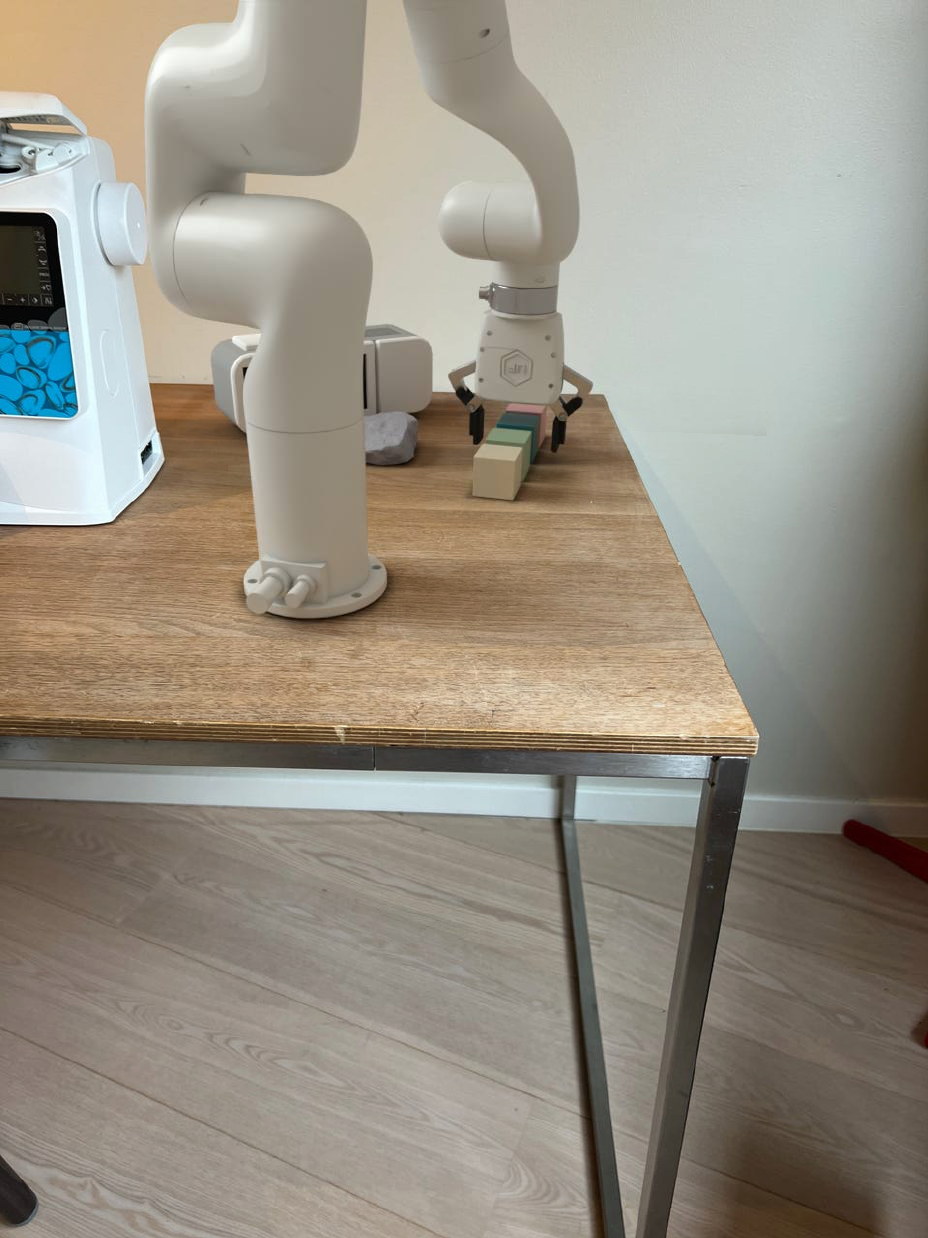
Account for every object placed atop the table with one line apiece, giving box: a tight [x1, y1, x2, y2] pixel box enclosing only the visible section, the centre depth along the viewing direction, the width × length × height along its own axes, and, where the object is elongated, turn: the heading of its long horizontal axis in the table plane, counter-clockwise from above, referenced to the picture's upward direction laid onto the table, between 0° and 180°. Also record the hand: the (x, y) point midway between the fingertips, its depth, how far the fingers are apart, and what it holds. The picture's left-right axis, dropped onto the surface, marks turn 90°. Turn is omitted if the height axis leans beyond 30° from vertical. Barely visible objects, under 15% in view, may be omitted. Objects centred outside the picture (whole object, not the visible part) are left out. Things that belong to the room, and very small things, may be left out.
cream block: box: [472, 443, 523, 501], centre depth 100 cm, size 5×5×5 cm
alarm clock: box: [210, 323, 434, 434], centre depth 119 cm, size 27×9×12 cm, turn 120°
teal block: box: [495, 412, 540, 464], centre depth 111 cm, size 5×5×5 cm
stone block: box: [364, 412, 419, 466], centre depth 111 cm, size 12×5×10 cm
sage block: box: [484, 427, 532, 483], centre depth 105 cm, size 5×5×5 cm
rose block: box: [504, 403, 548, 449], centre depth 116 cm, size 5×5×5 cm
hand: (516, 445), depth 111 cm, fingers open, 9 cm apart
